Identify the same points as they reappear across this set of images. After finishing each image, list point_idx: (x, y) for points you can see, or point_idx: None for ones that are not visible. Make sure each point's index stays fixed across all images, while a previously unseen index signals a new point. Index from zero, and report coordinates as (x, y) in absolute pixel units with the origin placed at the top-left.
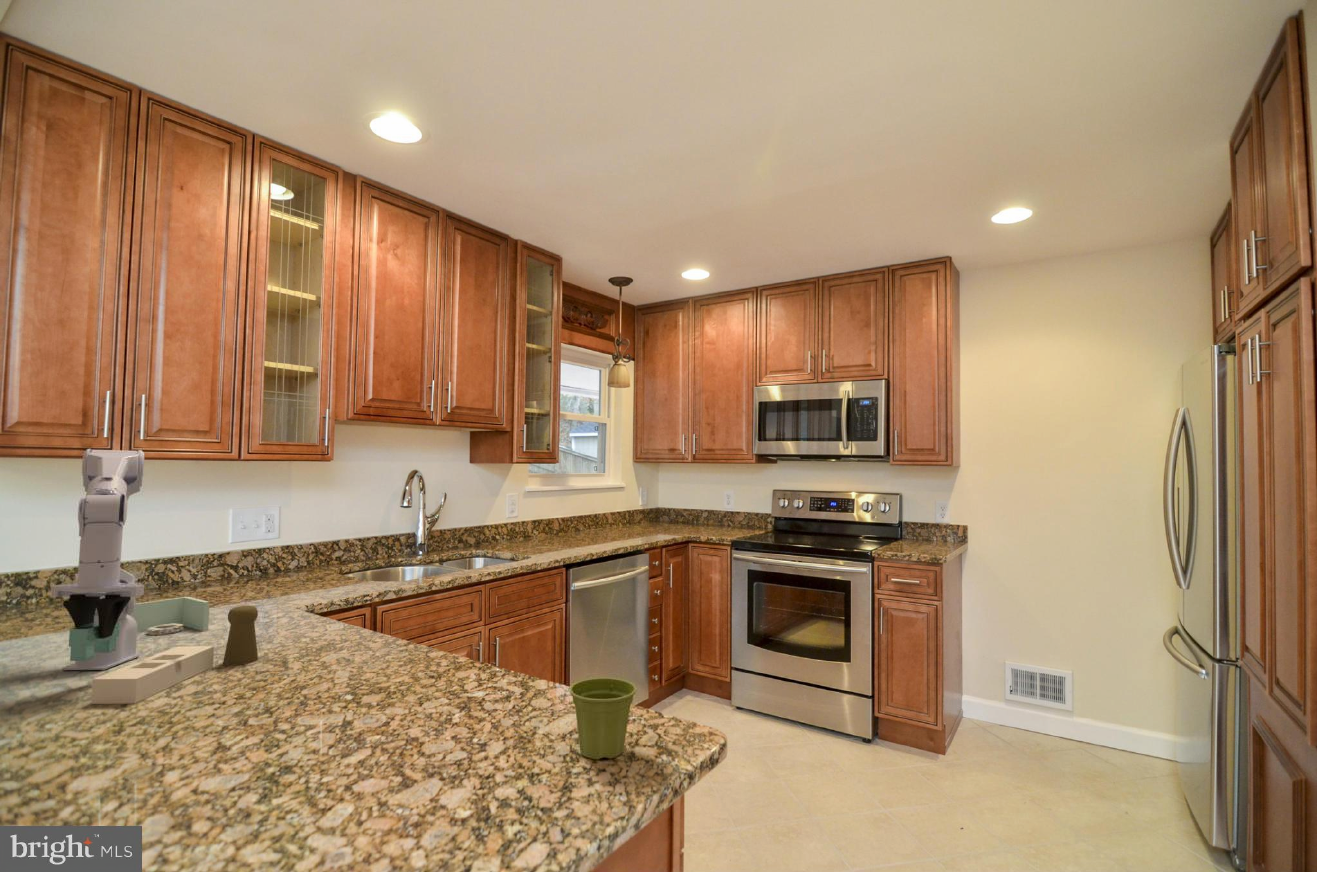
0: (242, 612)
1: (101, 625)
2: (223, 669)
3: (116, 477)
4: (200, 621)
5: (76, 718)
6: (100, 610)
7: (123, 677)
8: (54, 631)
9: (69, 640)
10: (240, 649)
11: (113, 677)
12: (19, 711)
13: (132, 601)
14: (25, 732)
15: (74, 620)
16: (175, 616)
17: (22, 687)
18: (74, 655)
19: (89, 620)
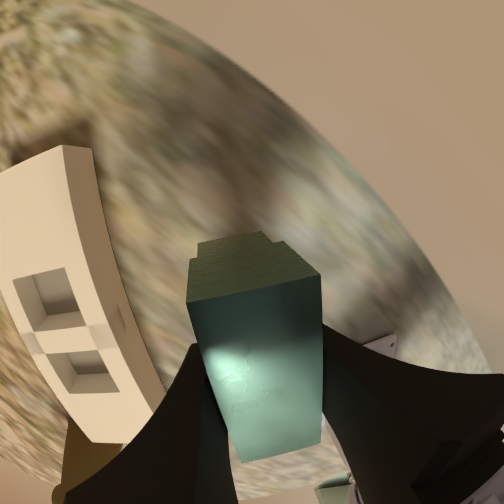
0: (54, 502)
1: (186, 382)
2: None
3: None
4: (330, 497)
5: (49, 75)
6: (164, 461)
7: (3, 185)
8: None
9: (290, 250)
10: (68, 440)
11: (22, 176)
12: (225, 72)
13: None
14: (88, 3)
15: (372, 356)
16: None
17: (388, 233)
18: (248, 239)
19: (331, 409)
